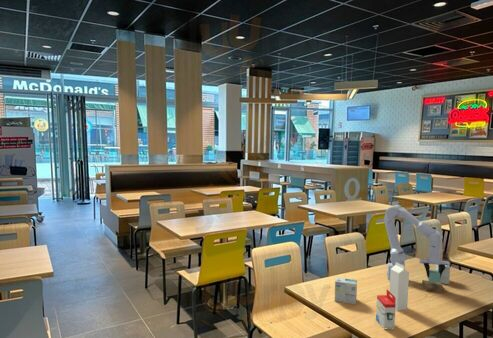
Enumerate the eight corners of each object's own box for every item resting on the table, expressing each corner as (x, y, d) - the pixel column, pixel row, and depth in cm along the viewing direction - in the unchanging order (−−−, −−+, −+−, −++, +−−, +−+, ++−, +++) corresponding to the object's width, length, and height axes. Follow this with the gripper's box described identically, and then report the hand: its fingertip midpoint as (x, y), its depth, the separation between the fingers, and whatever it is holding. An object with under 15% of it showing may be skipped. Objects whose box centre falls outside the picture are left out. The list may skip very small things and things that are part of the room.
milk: (397, 311, 163) (399, 266, 161) (388, 305, 169) (390, 262, 167) (407, 309, 164) (409, 265, 163) (398, 303, 170) (400, 261, 168)
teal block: (429, 281, 186) (430, 272, 185) (427, 277, 190) (427, 269, 190) (439, 282, 184) (440, 273, 184) (437, 279, 189) (437, 270, 189)
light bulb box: (356, 299, 175) (357, 278, 174) (356, 304, 169) (356, 284, 168) (335, 295, 178) (335, 276, 177) (334, 301, 172) (334, 281, 171)
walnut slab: (425, 291, 185) (426, 286, 185) (422, 285, 194) (422, 280, 193) (444, 293, 182) (444, 288, 182) (439, 287, 191) (439, 281, 191)
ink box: (375, 319, 155) (376, 288, 153) (385, 319, 155) (387, 288, 154) (383, 330, 146) (385, 297, 145) (395, 329, 146) (396, 297, 145)
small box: (449, 284, 194) (450, 266, 193) (438, 283, 195) (439, 265, 194) (445, 279, 201) (446, 262, 201) (434, 278, 203) (435, 261, 202)
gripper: (421, 254, 185) (420, 278, 186) (451, 256, 180) (450, 281, 182) (419, 250, 191) (418, 273, 192) (447, 252, 187) (446, 276, 188)
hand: (433, 276), depth 187 cm, fingers closed on teal block, 5 cm apart
